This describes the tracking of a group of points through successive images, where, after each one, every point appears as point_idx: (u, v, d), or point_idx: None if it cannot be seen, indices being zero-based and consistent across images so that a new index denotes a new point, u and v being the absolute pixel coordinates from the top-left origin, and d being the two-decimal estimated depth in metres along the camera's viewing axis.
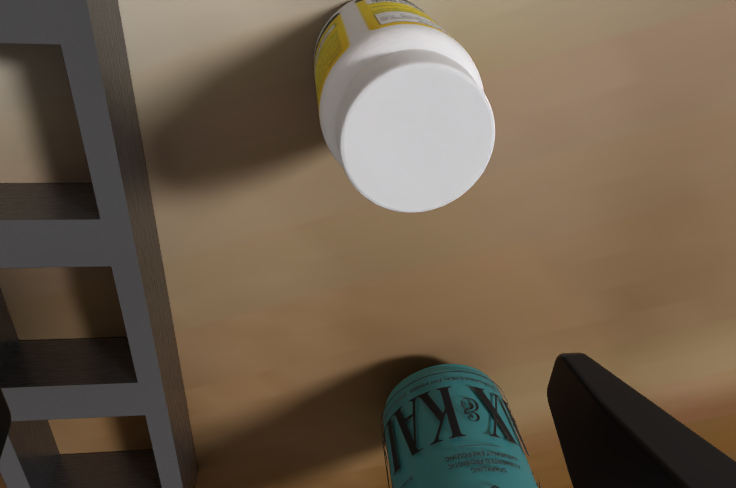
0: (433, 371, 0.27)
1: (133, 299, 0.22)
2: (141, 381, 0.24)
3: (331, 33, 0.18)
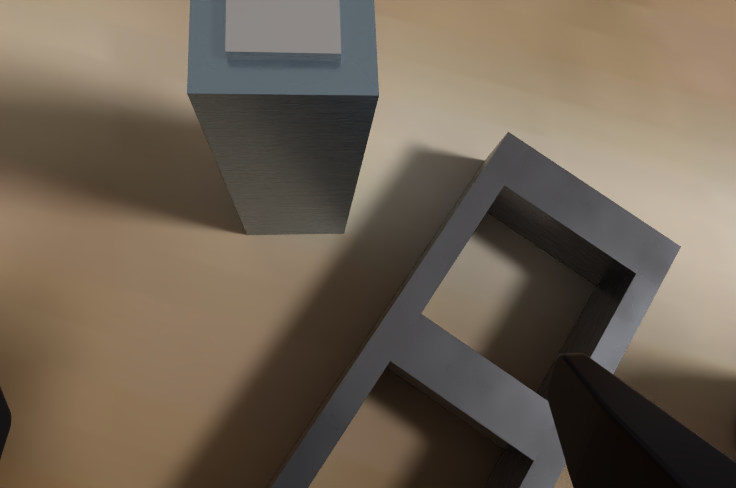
0: None
1: None
2: None
3: None
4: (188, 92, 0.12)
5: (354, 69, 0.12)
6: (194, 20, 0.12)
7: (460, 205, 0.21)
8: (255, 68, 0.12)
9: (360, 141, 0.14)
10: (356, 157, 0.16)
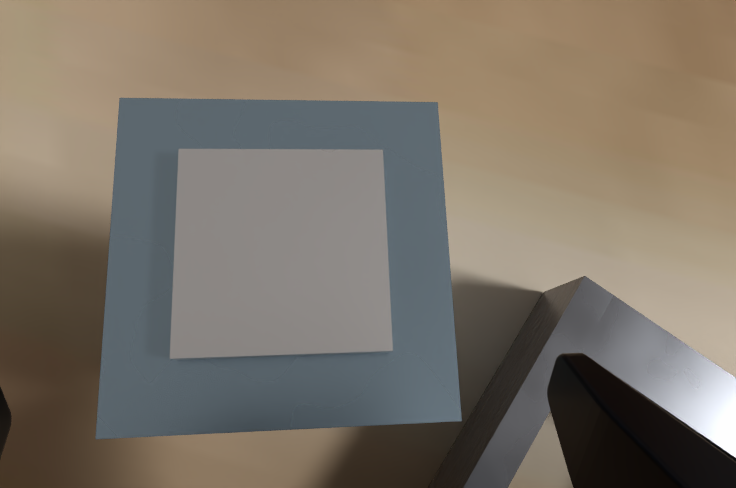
0: None
1: None
2: None
3: None
4: (98, 437, 0.06)
5: (414, 367, 0.07)
6: (116, 280, 0.06)
7: (524, 383, 0.16)
8: (230, 375, 0.06)
9: None
10: None
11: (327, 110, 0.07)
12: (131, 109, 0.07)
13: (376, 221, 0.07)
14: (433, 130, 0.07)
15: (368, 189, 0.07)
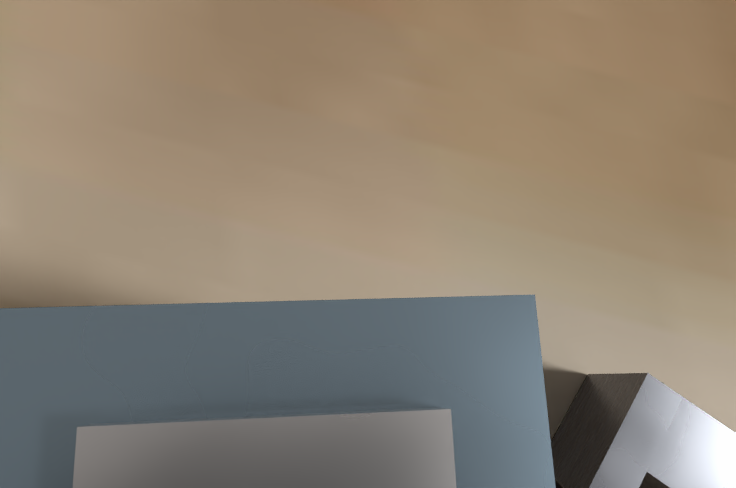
0: None
1: None
2: None
3: None
4: None
5: None
6: None
7: None
8: None
9: None
10: None
11: (349, 318, 0.04)
12: (2, 330, 0.04)
13: None
14: (530, 348, 0.04)
15: None
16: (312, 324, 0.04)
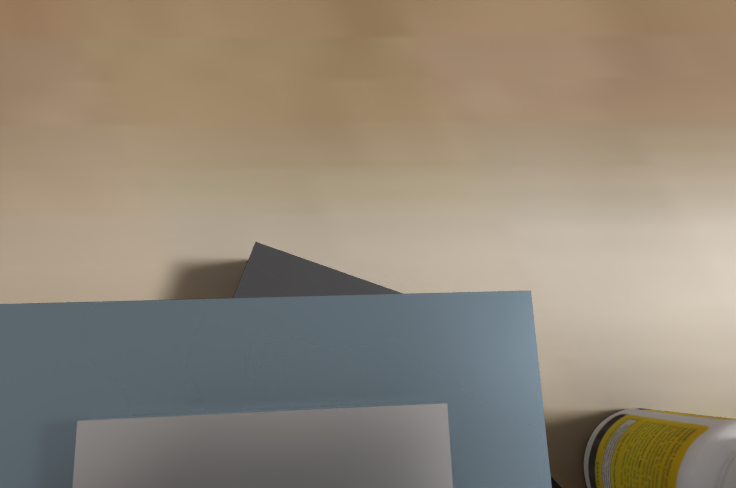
0: None
1: None
2: None
3: (638, 423, 0.20)
4: None
5: None
6: None
7: None
8: None
9: None
10: None
11: (346, 314, 0.04)
12: (3, 326, 0.04)
13: None
14: (526, 344, 0.04)
15: (423, 486, 0.04)
16: (310, 320, 0.04)
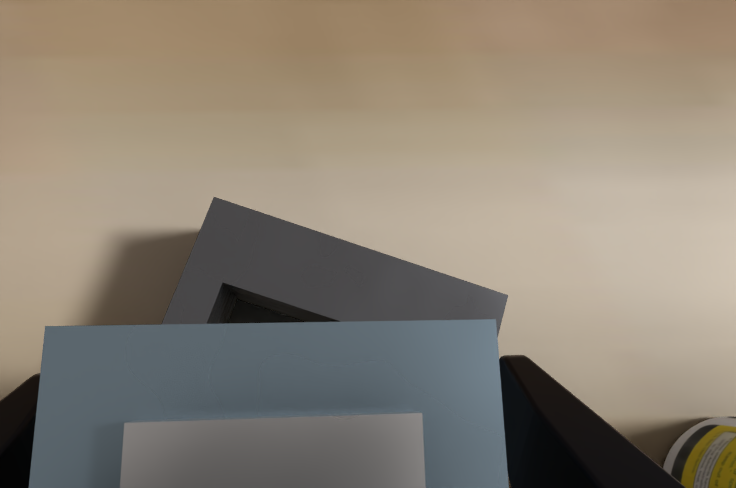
0: None
1: None
2: None
3: None
4: None
5: None
6: None
7: None
8: None
9: None
10: None
11: (341, 337, 0.05)
12: (61, 344, 0.05)
13: None
14: (490, 364, 0.05)
15: (401, 479, 0.05)
16: (311, 342, 0.05)
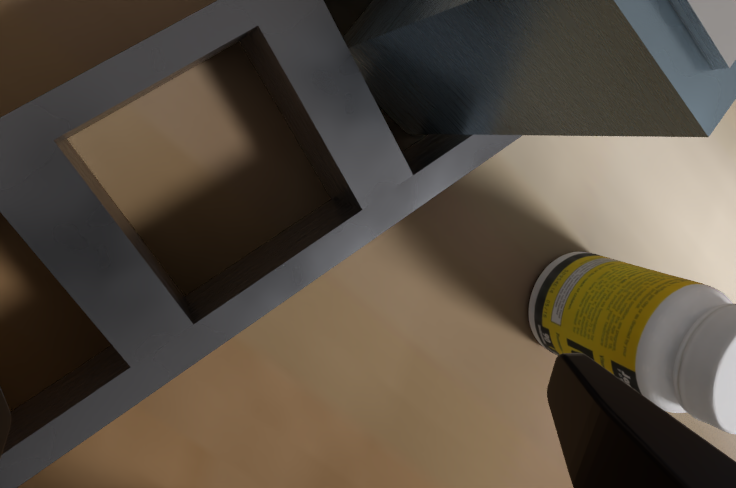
0: None
1: (329, 252, 0.17)
2: (198, 327, 0.16)
3: (624, 262, 0.23)
4: None
5: (714, 89, 0.10)
6: None
7: None
8: None
9: (599, 130, 0.12)
10: (563, 130, 0.13)
11: None
12: None
13: None
14: None
15: None
16: None
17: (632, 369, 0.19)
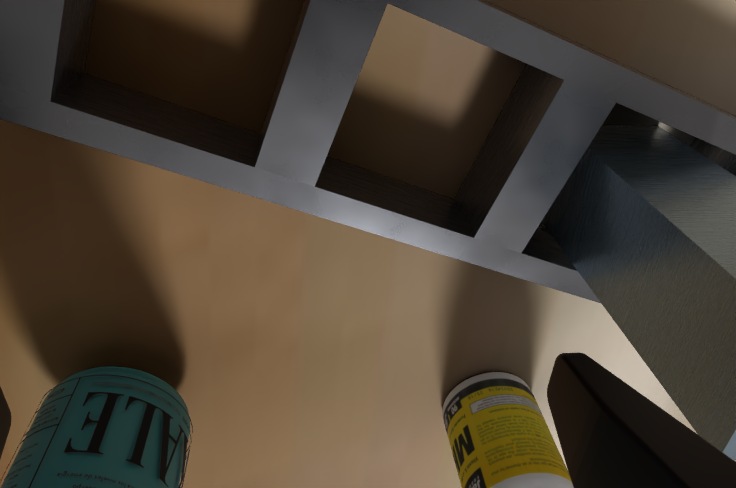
0: (189, 424, 0.25)
1: (428, 238, 0.20)
2: (314, 191, 0.19)
3: (546, 424, 0.27)
4: None
5: None
6: None
7: (735, 120, 0.19)
8: None
9: (663, 380, 0.15)
10: (643, 352, 0.16)
11: None
12: None
13: None
14: None
15: None
16: None
17: (487, 486, 0.23)
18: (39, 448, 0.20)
